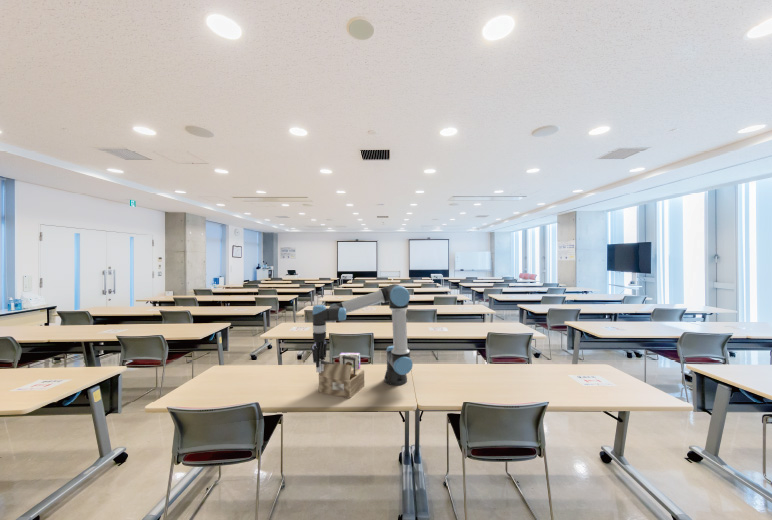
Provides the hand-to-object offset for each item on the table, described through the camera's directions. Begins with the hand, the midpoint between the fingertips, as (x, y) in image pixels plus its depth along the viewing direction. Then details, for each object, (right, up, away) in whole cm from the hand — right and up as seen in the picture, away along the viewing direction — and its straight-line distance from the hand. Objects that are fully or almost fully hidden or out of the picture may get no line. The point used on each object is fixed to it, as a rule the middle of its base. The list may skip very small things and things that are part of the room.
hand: (319, 371), depth 186 cm
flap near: (+8, -1, +5) cm, 10 cm away
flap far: (+13, -5, +16) cm, 21 cm away
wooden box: (+11, -15, +12) cm, 23 cm away
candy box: (+14, -15, +31) cm, 37 cm away
